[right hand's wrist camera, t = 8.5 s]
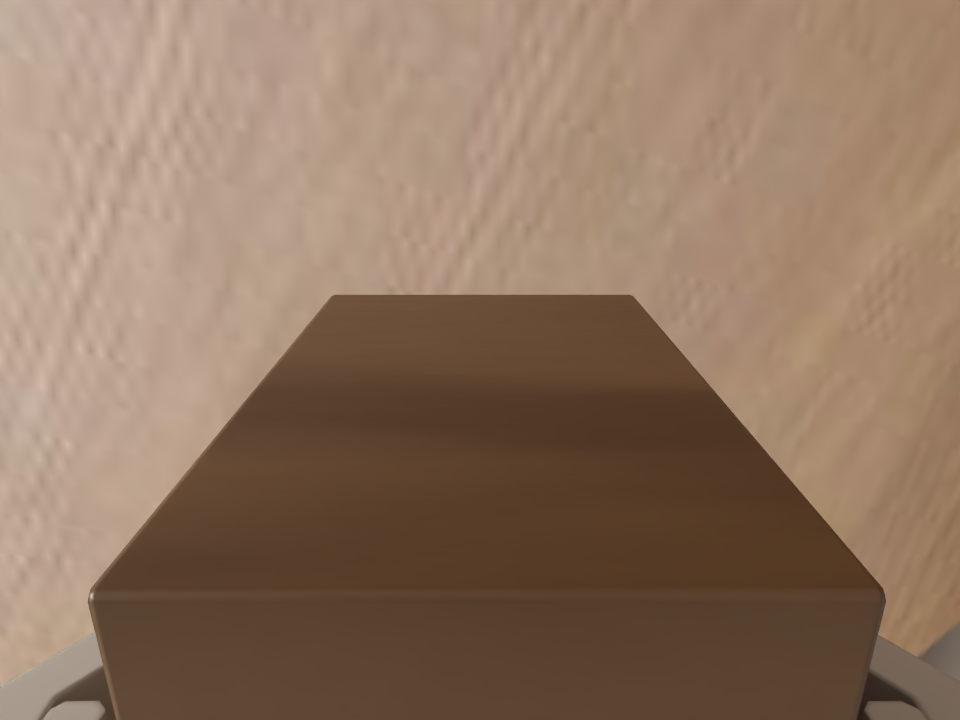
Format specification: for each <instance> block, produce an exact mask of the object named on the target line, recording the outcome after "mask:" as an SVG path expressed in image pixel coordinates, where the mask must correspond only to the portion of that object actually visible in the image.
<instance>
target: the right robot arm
mask: <svg viewBox="0 0 960 720" xmlns="http://www.w3.org/2000/svg"><path fill="white" fill-rule="evenodd" d="M0 720H116V717H115V713H114V709H113V705H112V701H111V696H110V692H109V688H108V684H107V680H106V676H105V671H104V667H103V663H102V659H101V655H100V650H99V646H98V642H97V638H96V634H95V632H94V633H92V634H90V635H89V636H87V637H85V638H83V639H82V640H80V641H78V642H76V643H75V644H73V645H71V646H69V647H68V648H66V649H64V650H62V651H61V652H59V653H57V654H55V655H54V656H52V657H50V658H48V659H47V660H45V661H43V662H42V663H40V664H38V665H36V666H35V667H33V668H31V669H29V670H28V671H26V672H24V673H22V674H21V675H19V676H17V677H15V678H14V679H12V680H10V681H8V682H7V683H5V684H3V685H1V686H0ZM857 720H960V681H958V680H956V679H954V678H953V677H951V676H949V675H947V674H946V673H944V672H942V671H940V670H939V669H937V668H935V667H933V666H932V665H930V664H928V663H926V662H925V661H923V660H921V659H919V658H918V657H916V656H914V655H912V654H911V653H909V652H907V651H905V650H904V649H902V648H900V647H898V646H897V645H895V644H893V643H891V642H890V641H888V640H886V639H884V638H883V637H881V636H879V635H877V640H876V644H875V648H874V652H873V656H872V660H871V664H870V668H869V672H868V676H867V680H866V684H865V688H864V692H863V696H862V700H861V704H860V708H859V712H858V716H857Z"/></svg>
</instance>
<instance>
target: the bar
mask: <svg viewBox="0 0 960 720" xmlns="http://www.w3.org/2000/svg"><path fill="white" fill-rule="evenodd" d="M885 603H886V599H885V594H884V591H883V588H882V587H881V586H880V585H879V583H878V582H877V581H876V580H875V579H874V578H873V576H872V575H871V574H870V573H869V572H868V571H867V569H866V568H865V567H864V566H863V565H862V564H861V562H860V561H859V560H858V559H857V558H856V556H855V555H854V554H853V553H852V552H851V551H850V549H849V548H848V547H847V546H846V545H845V544H844V542H843V541H842V540H841V539H840V538H839V537H838V535H837V534H836V533H835V532H834V531H833V530H832V528H831V527H830V526H829V525H828V524H827V523H826V521H825V520H824V519H823V518H822V517H821V516H820V514H819V513H818V512H817V511H816V510H815V508H814V507H813V506H812V505H811V504H810V503H809V501H808V500H807V499H806V498H805V497H804V496H803V494H802V493H801V492H800V491H799V490H798V489H797V487H796V486H795V485H794V484H793V483H792V482H791V480H790V479H789V478H788V477H787V476H786V475H785V473H784V472H783V471H782V470H781V469H780V468H779V466H778V465H777V464H776V463H775V462H774V460H773V459H772V458H771V457H770V456H769V455H768V453H767V452H766V451H765V450H764V449H763V448H762V446H761V445H760V444H759V443H758V442H757V441H756V439H755V438H754V437H753V436H752V435H751V434H750V432H749V431H748V430H747V429H746V428H745V427H744V425H743V424H742V423H741V422H740V421H739V420H738V418H737V417H736V416H735V415H734V414H733V412H732V411H731V410H730V409H729V408H728V407H727V405H726V404H725V403H724V402H723V401H722V400H721V398H720V397H719V396H718V395H717V394H716V393H715V391H714V390H713V389H712V388H711V387H710V386H709V384H708V383H707V382H706V381H705V380H704V379H703V377H702V376H701V375H700V374H699V373H698V372H697V370H696V369H695V368H694V367H693V366H692V364H691V363H690V362H689V361H688V360H687V359H686V357H685V356H684V355H683V354H682V353H681V352H680V350H679V349H678V348H677V347H676V346H675V345H674V343H673V342H672V341H671V340H670V339H669V338H668V336H667V335H666V334H665V333H664V332H663V331H662V329H661V328H660V327H659V326H658V325H657V324H656V322H655V321H654V320H653V319H652V318H651V316H650V315H649V314H648V313H647V312H646V311H645V309H644V308H643V307H642V306H641V305H640V304H639V302H638V301H637V300H636V299H635V298H634V297H633V296H631V295H334V296H331V298H330V299H329V300H328V301H327V302H326V304H325V305H324V306H323V307H322V308H321V310H320V311H319V312H318V313H317V315H316V316H315V317H314V318H313V319H312V321H311V322H310V323H309V324H308V326H307V327H306V328H305V329H304V330H303V332H302V333H301V334H300V335H299V336H298V338H297V339H296V340H295V341H294V343H293V344H292V345H291V346H290V347H289V349H288V350H287V351H286V352H285V353H284V355H283V356H282V357H281V358H280V360H279V361H278V362H277V363H276V364H275V366H274V367H273V368H272V369H271V370H270V372H269V373H268V374H267V375H266V377H265V378H264V379H263V380H262V381H261V383H260V384H259V385H258V386H257V387H256V389H255V390H254V391H253V392H252V394H251V395H250V396H249V397H248V398H247V400H246V401H245V402H244V403H243V404H242V406H241V407H240V408H239V409H238V411H237V412H236V413H235V414H234V415H233V417H232V418H231V419H230V420H229V421H228V423H227V424H226V425H225V426H224V428H223V429H222V430H221V431H220V432H219V434H218V435H217V436H216V437H215V439H214V440H213V441H212V442H211V443H210V445H209V446H208V447H207V448H206V449H205V451H204V452H203V453H202V454H201V456H200V457H199V458H198V459H197V460H196V462H195V463H194V464H193V465H192V466H191V468H190V469H189V470H188V471H187V473H186V474H185V475H184V476H183V477H182V479H181V480H180V481H179V482H178V483H177V485H176V486H175V487H174V488H173V490H172V491H171V492H170V493H169V494H168V496H167V497H166V498H165V499H164V500H163V502H162V503H161V504H160V505H159V507H158V508H157V509H156V510H155V511H154V513H153V514H152V515H151V516H150V517H149V519H148V520H147V521H146V522H145V524H144V525H143V526H142V527H141V528H140V530H139V531H138V532H137V533H136V534H135V536H134V537H133V538H132V539H131V541H130V542H129V543H128V544H127V545H126V547H125V548H124V549H123V550H122V552H121V553H120V554H119V555H118V556H117V558H116V559H115V560H114V561H113V562H112V564H111V565H110V566H109V567H108V569H107V570H106V571H105V572H104V573H103V575H102V576H101V577H100V578H99V579H98V581H97V582H96V583H95V584H94V586H93V587H92V588H91V590H90V593H89V598H88V605H89V609H90V613H91V617H92V621H93V625H94V630H95V634H96V638H97V642H98V646H99V650H100V655H101V659H102V663H103V667H104V671H105V676H106V680H107V684H108V688H109V692H110V696H111V701H112V705H113V709H114V713H115V717H116V720H857V716H858V712H859V708H860V704H861V700H862V696H863V692H864V688H865V684H866V680H867V676H868V672H869V668H870V664H871V660H872V656H873V652H874V648H875V644H876V640H877V635H878V631H879V627H880V623H881V619H882V615H883V611H884V607H885Z"/></svg>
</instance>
